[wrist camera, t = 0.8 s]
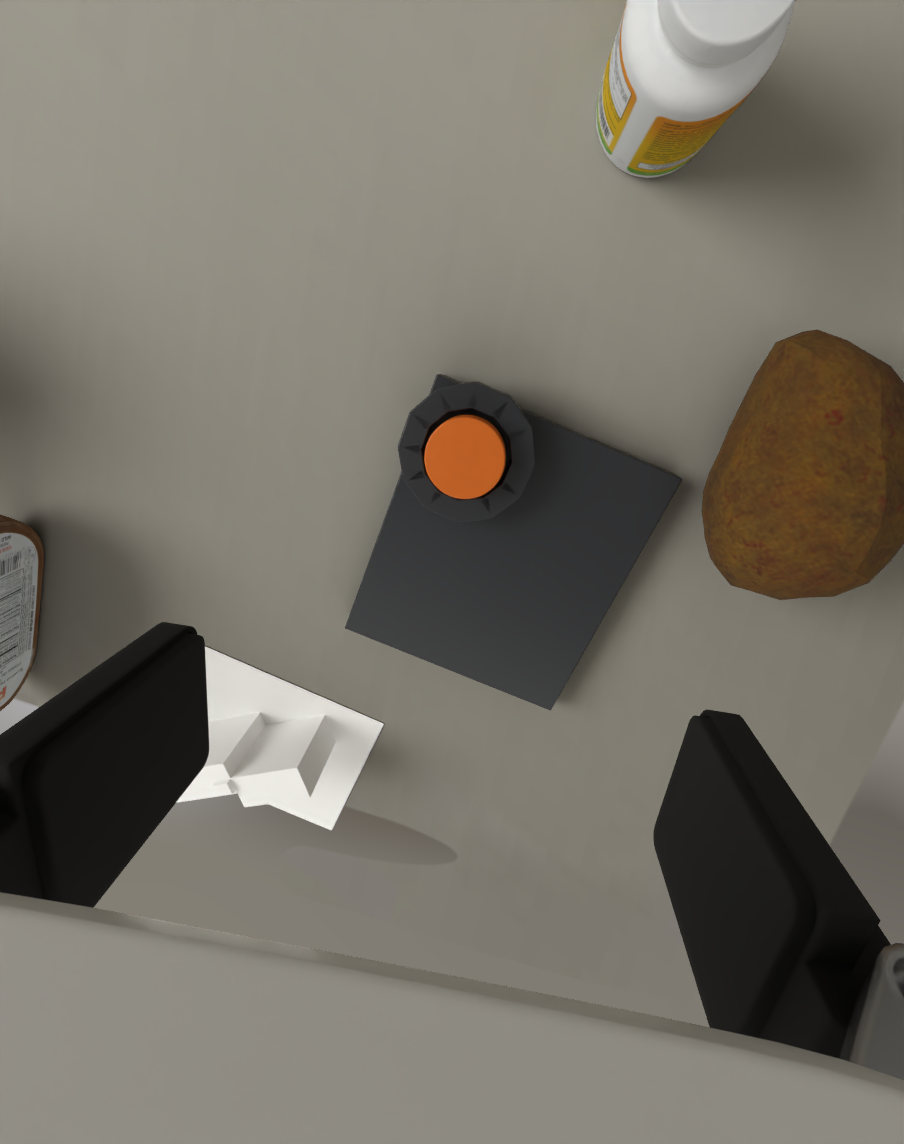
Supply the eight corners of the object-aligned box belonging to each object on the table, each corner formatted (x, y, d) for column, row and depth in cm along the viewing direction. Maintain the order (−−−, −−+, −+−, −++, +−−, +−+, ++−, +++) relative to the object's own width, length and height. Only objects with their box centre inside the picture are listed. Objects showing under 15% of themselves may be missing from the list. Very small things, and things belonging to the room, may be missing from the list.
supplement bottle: (745, 89, 24) (892, -86, 15) (657, 207, 25) (739, 118, 16) (652, 0, 23) (747, -242, 14) (569, 128, 25) (604, -11, 16)
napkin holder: (149, 756, 41) (95, 815, 35) (181, 636, 36) (125, 681, 31) (333, 831, 41) (307, 899, 36) (384, 721, 37) (364, 780, 32)
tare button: (445, 401, 27) (441, 403, 25) (518, 433, 27) (518, 436, 26) (417, 475, 28) (412, 481, 27) (487, 504, 29) (486, 511, 27)
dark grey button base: (435, 362, 29) (427, 361, 26) (679, 466, 29) (697, 477, 27) (344, 616, 35) (330, 637, 32) (549, 698, 35) (552, 726, 33)
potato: (913, 374, 27) (1089, 376, 19) (798, 586, 31) (900, 663, 23) (749, 329, 27) (854, 311, 19) (657, 547, 31) (710, 610, 23)
